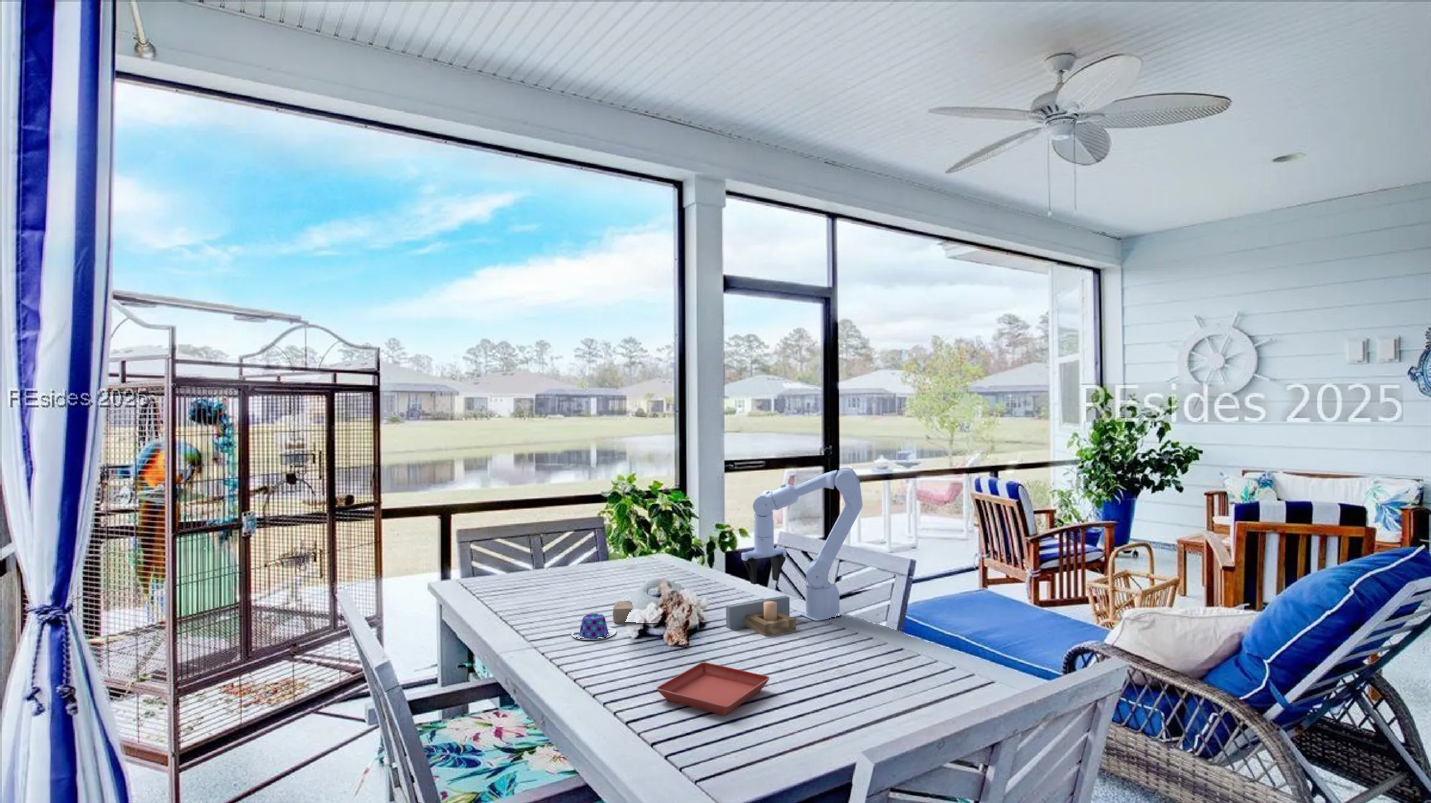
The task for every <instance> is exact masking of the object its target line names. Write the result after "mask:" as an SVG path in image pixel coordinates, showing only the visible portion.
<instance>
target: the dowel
mask: <svg viewBox="0 0 1431 803" xmlns="http://www.w3.org/2000/svg"><path fill="white" fill-rule="evenodd" d="M764 620H765V621H772V620H777V602H774V601H766V602H764Z"/></svg>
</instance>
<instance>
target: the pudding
mask: <svg viewBox="0 0 1431 803" xmlns="http://www.w3.org/2000/svg"><path fill="white" fill-rule="evenodd" d="M579 629H580V632H579V635H580V636H582V637H584V638H590V639H582V640H585V641H591V640H592V641H596V640H598V639H599V638H598V637H603V638H601V639H600V640H603V639H604V637H606V636H605V635H607V634H610V633H609V632H613V633H611V634H612V635H610V636H608V635H607V637H606V638H605V639H607V638H609V637H612V636H614V635H615V634H616V633H617V630H616V629H615V628H614V627H611V626H608V625H607V621H606V617H605V615H603V614H602V613H589V614H586V615H584V616H583V617H582V619H581V624H580V627H579V628H577V629H574V630H573V631H572V632H571V636H572V637H573V638H575V639H578V640H581V639H580V638H582V637H580V638H576V636H574V635H573V634H574V632H578V631H579ZM608 629H610V631H609V632H608ZM611 629H612V630H611ZM579 635H578V636H579ZM595 638H597V639H595Z"/></svg>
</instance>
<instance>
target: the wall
mask: <svg viewBox="0 0 1431 803" xmlns="http://www.w3.org/2000/svg"><path fill="white" fill-rule="evenodd" d="M790 600H791V599H790V596H788V595H782V596H775V597H774V596H773V597H768V598H763V599H758V600H750V601H746V602H739V603H733V604H732V603H731V604H727V605H725V607H726V608H725V621H726V624H725V625H726V628H727V629H729V630H730V629H731V630H732V629H737V628H741V627H746V626H745V615H751V614H757V613H762V612H764V602H766V601H774V602H777V611H778V612H780V613H783V614H785V615H787V616H790V615H791V614H790V612H791V611H790V609H791V606H790ZM790 617H791V616H790Z"/></svg>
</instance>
